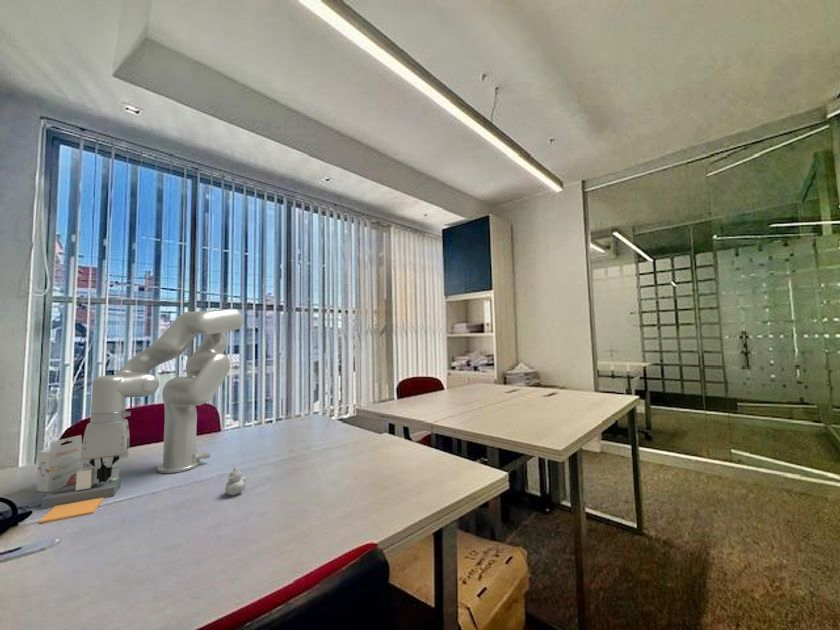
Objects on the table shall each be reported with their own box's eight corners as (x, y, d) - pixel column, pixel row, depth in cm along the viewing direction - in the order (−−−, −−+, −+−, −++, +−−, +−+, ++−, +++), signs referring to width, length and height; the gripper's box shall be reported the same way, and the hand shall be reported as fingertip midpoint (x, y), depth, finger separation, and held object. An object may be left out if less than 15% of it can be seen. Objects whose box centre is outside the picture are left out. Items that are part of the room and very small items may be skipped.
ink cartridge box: (69, 479, 112) (72, 433, 112) (81, 480, 111) (84, 434, 111) (35, 491, 103) (38, 441, 104) (47, 492, 102) (50, 442, 103)
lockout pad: (103, 499, 98) (103, 497, 98) (93, 513, 90) (93, 511, 90) (54, 508, 93) (54, 506, 93) (39, 523, 85) (39, 521, 85)
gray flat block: (120, 486, 106) (120, 475, 106) (113, 496, 100) (114, 484, 100) (52, 498, 99) (52, 486, 99) (40, 509, 92) (41, 496, 93)
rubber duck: (219, 496, 99) (220, 468, 100) (238, 487, 106) (239, 460, 106) (233, 499, 98) (234, 470, 98) (252, 489, 104) (252, 462, 104)
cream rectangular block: (94, 483, 102) (95, 465, 102) (89, 488, 99) (90, 470, 99) (80, 485, 101) (81, 467, 101) (75, 490, 97) (76, 472, 97)
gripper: (142, 412, 110) (138, 471, 108) (78, 417, 102) (73, 481, 101) (137, 417, 103) (133, 480, 102) (68, 423, 96) (63, 491, 94)
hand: (103, 480), depth 101 cm, fingers closed
